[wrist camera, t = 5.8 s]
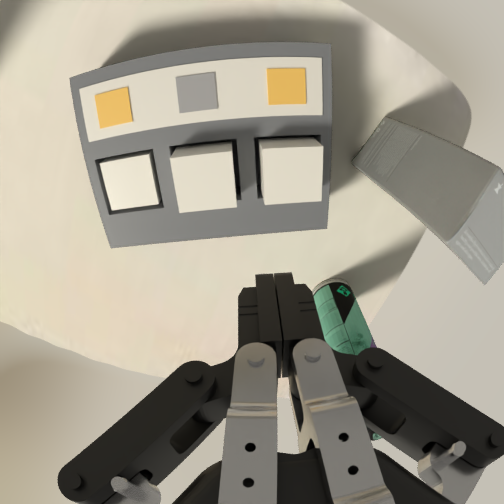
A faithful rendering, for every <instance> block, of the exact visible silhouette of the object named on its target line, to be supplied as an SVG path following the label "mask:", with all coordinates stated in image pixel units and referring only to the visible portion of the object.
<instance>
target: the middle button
mask: <svg viewBox="0 0 504 504" xmlns="http://www.w3.org/2000/svg"><path fill="white" fill-rule="evenodd" d="M170 163H171V169H172V174H173V180H174V186H175V192H176V197H177V203H178V208H179V213H184V212H194V211H204V210H214V209H224V208H235V207H237V200H236V185H235V174H234V163H233V151H232V141H229V142H219V143H209V144H200V145H192V146H184V147H177V148H176V149H175V151H174V152H173V154H172V156H171V157H170Z"/></svg>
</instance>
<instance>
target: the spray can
mask: <svg viewBox="0 0 504 504" xmlns="http://www.w3.org/2000/svg"><path fill="white" fill-rule="evenodd" d="M312 293H313V297H314V300H315V304H316V308H317V312H318V315H319V319H320V323H321V327H322V331H323V334H324V338H325V341H326V342H327V344H328V345H329V346H330V347H331V348H333V349H334V350H336V351H338V352H341V353H346V354H353V355H358V354H359V353H360V352H361V351H362V350H364V349H366V348H370V347H375V348H377V347H376V345H375V342H374V340H373V337H372V335H371V333H370V330H369V328H368V326H367V323H366V321H365V319H364V316H363V314H362V312H361V310H360V307H359V305H358V303H357V301H356V298H355V296H354V294H353V292H352V290H351V287H350V286H349V284H348V283H347V282H346V281H344V280H342V279H329V280H326V281H323V282H321V283H320V284H318V285H317V286H316V287H315V288H314V289H313V291H312ZM366 428H367V431H368V434H369V437H370V440H378V439H381V438H382V437H381V436H379V435H378V434H377V433H375V432H374V431H372V430H371V429H370V428H368V427H367V426H366Z"/></svg>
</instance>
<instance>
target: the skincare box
mask: <svg viewBox="0 0 504 504" xmlns="http://www.w3.org/2000/svg"><path fill="white" fill-rule="evenodd" d="M352 164H353V165H354V166H355V167H356V168H357V169H359V170H360V171H361V172H362V173H363V174H365V175H366V176H367V177H368V178H369V179H371V180H372V181H373V182H374V183H376V184H377V185H378V186H379V187H380V188H382V189H383V190H384V191H385V192H387V193H388V194H389V195H390V196H392V197H393V198H394V199H395V200H396V201H398V202H399V203H400V204H401V205H402V206H404V207H405V208H406V209H407V210H408V211H410V212H411V213H412V214H413V215H414V216H415V217H416V218H418V219H419V220H420V221H421V222H422V223H423V224H424V225H425V226H426V227H427V228H428V229H430V230H431V231H432V232H433V233H434V234H435V235H436V236H437V237H438V238H439V239H440V240H441V241H442V242H443V243H444V244H445V245H446V246H447V247H448V248H449V249H450V250H451V251H452V252H453V253H454V254H455V255H456V256H457V257H458V258H459V259H460V260H461V261H462V262H463V263H464V264H465V265H466V266H467V267H468V269H469V270H470V271H471V272H472V273H473V274H474V275H475V276H476V277H477V278H478V279H479V280H480V281H481V282H482V283H483V284H484V285H485V284H486V283H487V282H488V281H489V280H490V279H491V277H492V276H493V275H494V274H495V272H496V271H497V270H498V269H499V267H500V266H501V265H502V263H503V262H504V173H503V171H502V169H501V168H500V167H498V166H496V165H494V164H493V163H491V162H489V161H487V160H485V159H483V158H481V157H480V156H478V155H476V154H474V153H472V152H469V151H468V150H466V149H464V148H461V147H459V146H457V145H455V144H453V143H451V142H448V141H446V140H444V139H442V138H439V137H437V136H435V135H432V134H430V133H428V132H425V131H423V130H420V129H418V128H415V127H413V126H410V125H408V124H405V123H402V122H400V121H397V120H394V119H392V118H389V117H384V119H383V120H382V121H381V123H380V124H379V125H378V127H377V128H376V130H375V131H374V133H373V134H372V135H371V137H370V138H369V140H368V141H367V142H366V144H365V145H364V146H363V148H362V149H361V150H360V152H359V153H358V154H357V156H356V157H355V158H354V159H353V161H352Z"/></svg>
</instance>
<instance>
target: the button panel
mask: <svg viewBox="0 0 504 504" xmlns="http://www.w3.org/2000/svg"><path fill="white" fill-rule="evenodd" d="M70 85H71V92H72V98H73V104H74V110H75V116H76V121H77V126H78V131H79V136H80V140H81V145H82V149H83V154H84V158H85V162H86V166H87V170H88V174H89V178H90V182H91V186H92V189H93V193H94V196H95V200H96V203H97V207H98V210H99V213H100V217H101V220H102V223H103V226H104V229H105V232H106V235H107V238H108V241H109V244H110V247H111V248H118V247H128V246H137V245H147V244H157V243H167V242H178V241H188V240H199V239H210V238H221V237H232V236H243V235H255V234H267V233H279V232H291V231H304V230H317V229H327V222H328V208H329V192H330V172H331V145H332V57H331V44H327V43H309V42H257V43H238V44H225V45H215V46H206V47H198V48H190V49H184V50H177V51H171V52H166V53H160V54H155V55H150V56H146V57H141V58H137V59H132V60H128V61H124V62H120V63H116V64H113V65H109V66H105V67H102V68H99V69H95V70H92V71H89V72H86V73H83V74H80V75H77V76H74V77H71V78H70ZM292 137H314V138H315V139H316V140H317V141H318V142H319V143H320V144H321V145H322V146H323V176H322V200H321V201H317V202H301V203H286V204H272V205H265V204H264V200H263V195H262V191H261V178H260V159H259V141H258V139H270V138H292ZM229 141H232V151H233V163H234V174H235V185H236V200H237V207H235V208H224V209H214V210H204V211H194V212H184V213H179V208H178V203H177V197H176V192H175V186H174V180H173V174H172V169H171V163H170V157H171V156H172V154H173V152H174V151H175V149H176V148H177V147H184V146H192V145H200V144H209V143H219V142H229ZM149 149H153V153H154V158H155V164H156V169H157V175H158V180H159V185H160V190H161V195H162V198H161V200H160V203H159V204H156V205H149V206H141V207H134V208H126V209H119V210H112V209H111V206H110V202H109V198H108V195H107V191H106V187H105V183H104V179H103V175H102V171H101V167H100V163H101V162H102V161H103V160H104V159H105V158H106V157H111V156H116V155H121V154H126V153H131V152H137V151H143V150H149Z"/></svg>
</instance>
